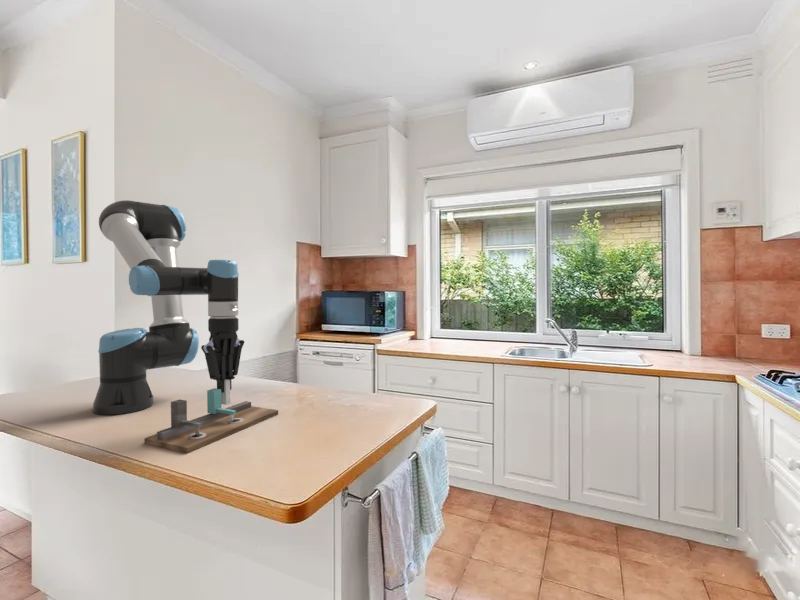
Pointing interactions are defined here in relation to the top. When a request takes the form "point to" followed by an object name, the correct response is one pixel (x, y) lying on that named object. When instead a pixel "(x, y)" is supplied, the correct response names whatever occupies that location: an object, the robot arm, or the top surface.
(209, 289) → the robot arm
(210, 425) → the board
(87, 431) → the top surface
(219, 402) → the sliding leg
